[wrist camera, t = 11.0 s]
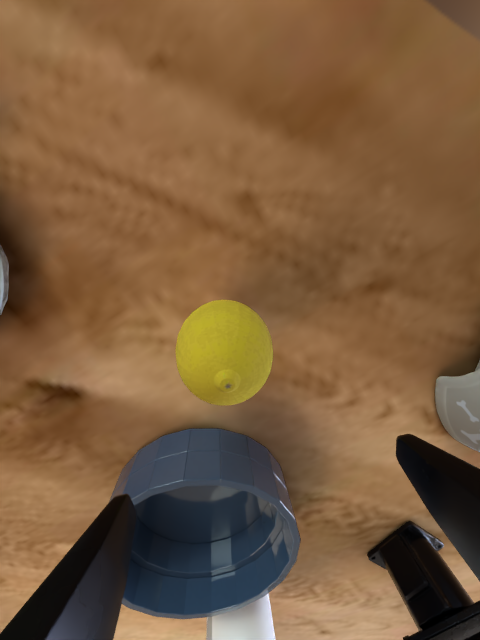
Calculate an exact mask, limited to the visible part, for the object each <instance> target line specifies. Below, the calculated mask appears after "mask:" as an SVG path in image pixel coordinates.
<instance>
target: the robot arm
mask: <svg viewBox="0 0 480 640" xmlns="http://www.w3.org/2000/svg"><path fill="white" fill-rule="evenodd" d="M396 457H397V460H398V462H399V464H400V465H401V467H402V469H403V470H404V472H405V473H406V475H407V477H408V478H409V480H410V482H411V483H412V485H413V486H414V488H415V490H416V491H417V493H418V495H419V496H420V498H421V500H422V501H423V503H424V504H425V506H426V508H427V509H428V511H429V512H430V514H431V515H432V516H433V518H434V519H435V521H436V522H437V524H438V525H439V526H440V528H441V529H442V530H443V532H444V533H445V534H446V536H447V537H448V539H449V540H450V541H451V543H452V544H453V545H454V547H455V548H456V549H457V551H458V552H459V554H460V555H461V556H462V558H463V559H464V560H465V562H466V563H467V564H468V566H469V567H470V569H471V570H472V571H473V573H474V574H475V575H476V577H477V578H478V580H479V581H480V469H479V468H477V467H475V466H473V465H471V464H469V463H467V462H465V461H463V460H461V459H459V458H457V457H455V456H453V455H451V454H449V453H447V452H445V451H443V450H441V449H439V448H437V447H435V446H433V445H431V444H430V443H428V442H426V441H424V440H422V439H420V438H418V437H416V436H414V435H411V434H405V435H400V436H398V437H397V440H396ZM136 519H137V513H136V509H135V507H134V504H133V502H132V500H131V497H130V495H129V494H122V495H117V496H115V497H114V498H113V499H112V500H111V501H110V502H109V503H108V505H107V506H106V507H105V508H104V509H103V511H102V512H101V513H100V514H99V515H98V517H97V518H96V519H95V520H94V521H93V523H92V524H91V525H90V526H89V527H88V529H87V530H86V531H85V532H84V533H83V535H82V536H81V537H80V538H79V539H78V541H77V542H76V543H75V544H74V546H73V547H72V548H71V549H70V550H69V552H68V553H67V554H66V555H65V556H64V558H63V559H62V560H61V561H60V562H59V564H58V565H57V566H56V567H55V568H54V570H53V571H52V572H51V573H50V574H49V576H48V577H47V578H46V579H45V580H44V582H43V583H42V584H41V585H40V586H39V588H38V589H37V590H36V591H35V592H34V594H33V595H32V596H31V597H30V598H29V600H28V601H27V602H26V603H25V604H24V606H23V607H22V608H21V609H20V610H19V612H18V613H17V614H16V615H15V617H14V618H13V619H12V620H11V621H10V623H9V624H8V625H7V626H6V627H5V629H4V630H3V631H2V632H1V633H0V640H113V638H114V633H115V629H116V625H117V621H118V617H119V612H120V608H121V604H122V600H123V596H124V591H125V587H126V582H127V577H128V571H129V565H130V558H131V552H132V545H133V539H134V532H135V526H136ZM443 546H444V545H443V543H442V542H441V541H440V540H439V539H438V538H436V537H435V536H433V535H432V534H430V533H429V532H427V531H425V530H424V529H422V528H421V527H419V526H418V525H416V524H415V523H413V522H412V521H408V522H406V523H405V524H404V525H402V526H401V527H400V528H399V529H397V530H396V531H395V532H393V533H392V534H391V535H390V536H388V537H387V538H386V539H385V540H383V541H382V542H381V543H380V544H378V545H377V546H376V547H375V548H373V549H372V550H371V551H369V552H368V554H367V556H368V558H369V560H370V561H372V562H374V563H376V564H377V565H379V566H381V567H383V568H385V569H387V570H388V572H389V574H390V576H391V578H392V580H393V582H394V584H395V586H396V588H397V590H398V591H399V593H400V595H401V597H402V599H403V601H404V603H405V605H406V607H407V609H408V611H409V613H410V615H411V616H412V618H413V620H414V622H415V624H416V626H417V628H418V630H419V632H417V633H415V634H413V635H411V636H408V635H407V636H405V637H403V640H480V601H478V602H476V603H474V602H473V601H472V599H471V598H470V596H469V595H468V594H467V592H466V591H465V589H464V588H463V587H462V585H461V584H460V582H459V581H458V580H457V578H456V577H455V575H454V574H453V573H452V571H451V570H450V568H449V567H448V566H447V564H446V563H445V561H444V560H443V559H442V557H441V556H440V554H439V553H438V552H437V551H439V550H440V549H441V548H443Z"/></svg>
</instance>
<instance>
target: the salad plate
mask: <svg viewBox="0 0 480 640" xmlns="http://www.w3.org/2000/svg"><path fill="white" fill-rule="evenodd" d="M8 289H9V263H8V260H7V257H6V254H5V252H4V250H3V248H2V246H1V244H0V315H1V313H2V311H3V308H4V306H5V303H6V301H7V299H8Z"/></svg>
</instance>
